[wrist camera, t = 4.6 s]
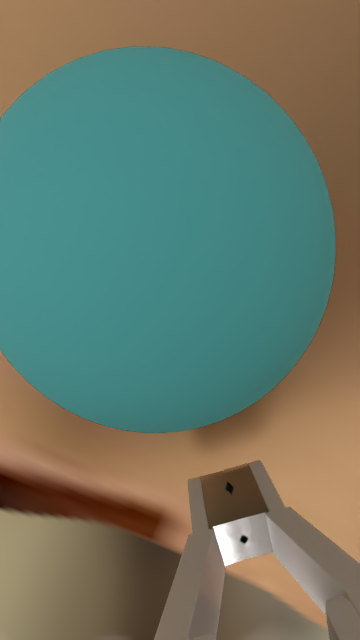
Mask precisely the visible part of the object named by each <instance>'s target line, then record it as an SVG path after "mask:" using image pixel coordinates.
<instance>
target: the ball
mask: <svg viewBox="0 0 360 640" xmlns="http://www.w3.org/2000/svg"><path fill="white" fill-rule="evenodd" d="M335 260H336V232H335V224H334V215H333V208H332V204H331V200H330V196H329V192H328V188H327V184H326V182H325V179H324V177H323V174H322V171H321V169H320V166H319V164H318V161H317V159H316V157H315V155H314V154H313V152H312V150H311V148H310V146H309V144H308V143H307V141H306V139H305V137H304V136H303V134H302V133H301V132H300V130H299V129H298V128H297V126H296V125H295V123H294V122H293V121H292V119H291V118H290V117H289V115H288V114H287V113H286V112H285V111H284V110H283V109H282V108H281V107H280V106H279V105H278V104H277V103H276V102H275V101H274V100H273V99H272V98H271V97H270V96H269V95H268V94H267V93H266V92H265V91H263V90H262V89H261V88H259V87H258V86H257V85H255V84H254V83H253V82H251V81H250V80H249V79H248V78H246V77H245V76H243V75H241V74H239V73H238V72H236V71H234V70H232V69H230V68H228V67H227V66H225V65H223V64H221V63H219V62H216V61H214V60H211V59H208V58H205V57H203V56H200V55H197V54H194V53H191V52H186V51H181V50H176V49H170V48H165V47H140V46H132V47H125V48H118V49H111V50H104V51H101V52H97V53H94V54H91V55H88V56H85V57H82V58H79V59H76V60H74V61H72V62H70V63H68V64H66V65H64V66H62V67H60V68H58V69H56V70H55V71H53V72H51V73H49V74H47V75H46V76H45V77H43V78H42V79H41V80H39V81H38V82H37V83H36V84H34V85H33V86H32V87H30V88H29V89H28V90H26V91H25V92H24V93H23V94H22V95H21V96H20V97H19V98H18V99H17V100H16V102H15V103H14V104H13V105H12V106H11V107H10V108H9V109H8V110H7V111H6V112H5V113H4V115H3V116H2V118H1V119H0V350H1V351H2V353H3V354H4V355H5V357H6V358H7V359H8V361H9V362H10V363H11V365H12V366H13V367H14V368H15V369H16V370H17V371H18V372H19V373H20V374H21V375H22V376H23V377H24V378H25V379H26V380H27V382H29V383H30V384H31V385H32V386H33V387H35V388H36V389H37V390H38V391H39V392H41V393H42V394H43V395H44V396H46V397H47V398H49V399H50V400H52V401H53V402H55V403H56V404H58V405H59V406H61V407H62V408H64V409H66V410H68V411H70V412H72V413H74V414H76V415H78V416H80V417H82V418H84V419H87V420H90V421H93V422H95V423H98V424H101V425H104V426H108V427H112V428H116V429H120V430H126V431H134V432H142V433H168V432H179V431H186V430H190V429H195V428H200V427H204V426H207V425H210V424H213V423H216V422H219V421H221V420H224V419H226V418H228V417H230V416H232V415H235V414H237V413H239V412H240V411H242V410H244V409H245V408H247V407H249V406H250V405H252V404H254V403H255V402H257V401H258V400H259V399H261V398H262V397H263V396H265V395H266V394H267V393H269V392H270V391H271V390H272V389H273V388H274V387H275V386H276V385H277V384H278V383H279V382H281V381H282V380H283V379H284V378H285V377H286V376H287V374H288V373H289V372H290V371H291V370H292V368H293V367H294V366H295V365H296V364H297V362H298V361H299V360H300V358H301V357H302V355H303V354H304V352H305V351H306V349H307V348H308V346H309V345H310V343H311V341H312V339H313V337H314V335H315V333H316V331H317V329H318V327H319V325H320V323H321V320H322V317H323V315H324V312H325V309H326V306H327V304H328V300H329V296H330V291H331V287H332V283H333V277H334V268H335Z"/></svg>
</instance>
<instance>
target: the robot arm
mask: <svg viewBox="0 0 360 640" xmlns="http://www.w3.org/2000/svg"><path fill="white" fill-rule="evenodd" d="M188 492H189V502H190V512H191V522H192V531H193V534H190V535H189V536H188V539H187V542H186V545H185V548H184V551H183V554H182V557H181V560H180V563H179V566H178V569H177V572H176V575H175V578H174V581H173V584H172V587H171V590H170V593H169V596H168V599H167V602H166V605H165V609H164V611H163V614H162V617H161V620H160V624H159V627H158V630H157V633H156V636H155V639H154V640H216V633H217V626H218V619H219V612H220V605H221V597H222V590H223V582H224V575H225V569H226V568H225V566H226V565H229V564H232V563H235V562H238V561H242V560H245V559H248V558H251V557H256V556H260V555H264V554H268V553H272V552H274V555H275V556H276V557H277V558H278V559H279V561H280V562H281V563H282V564H283V565H284V567H285V568H286V569H287V570H288V571H289V572H290V574H291V575H292V576H293V577H294V578H295V580H296V581H297V582H298V583H299V584H300V586H301V587H302V588H303V589H304V590H305V591H306V593H307V594H308V595H309V596H310V597H311V599H312V600H313V601H314V602H315V603H316V604H317V606H318V607H319V608H320V609H321V610H322V612H323V613H324V614H325V615H326V617H327V625H328V633H329V639H330V640H360V564H359V563H358V562H357V561H356V560H355V559H353V558H352V557H351V556H350V555H348V554H347V553H346V552H345V551H344V550H342V549H341V548H340V547H339V546H337V545H336V544H335V543H334V542H332V541H331V540H330V539H329V538H328V537H326V536H325V535H324V534H323V533H321V532H320V531H319V530H318V529H316V528H315V527H314V526H313V525H312V524H310V523H309V522H308V521H307V520H305V519H304V518H303V517H302V516H301V515H299V514H298V513H297V512H296V511H294V510H293V509H292V508H291V507H285V506H284V504H283V502H282V500H281V498H280V496H279V494H278V492H277V490H276V488H275V487H274V485H273V483H272V481H271V479H270V477H269V475H268V473H267V471H266V469H265V467H264V465H263V463H262V462H261V461H260V460H257V461H254V462H250V463H248V464H247V463H245V464H242V465H239V466H235V467H232V468H229V469H225V470H224V471H220V472H216V473H212V474H208V475H204V476H200V477H196V478H192V479H189V480H188Z"/></svg>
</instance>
